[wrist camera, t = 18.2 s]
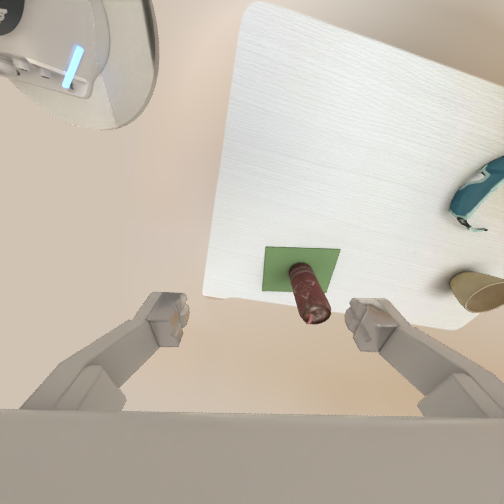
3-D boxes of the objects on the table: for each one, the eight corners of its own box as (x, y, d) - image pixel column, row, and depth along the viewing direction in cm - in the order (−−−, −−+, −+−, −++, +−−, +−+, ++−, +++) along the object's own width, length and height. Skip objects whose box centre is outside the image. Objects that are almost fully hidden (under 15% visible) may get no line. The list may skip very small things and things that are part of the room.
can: (284, 278, 47) (295, 324, 35) (293, 259, 44) (308, 302, 32) (305, 283, 48) (323, 328, 36) (315, 264, 45) (338, 307, 33)
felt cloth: (262, 290, 50) (262, 291, 50) (266, 246, 43) (266, 247, 42) (325, 291, 50) (326, 292, 50) (340, 249, 43) (340, 249, 43)
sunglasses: (511, 136, 31) (554, 137, 27) (536, 178, 36) (575, 184, 32) (435, 206, 37) (460, 216, 33) (466, 233, 43) (491, 244, 39)
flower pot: (485, 258, 44) (522, 276, 38) (479, 285, 49) (512, 305, 43) (439, 272, 47) (468, 291, 40) (438, 297, 51) (464, 318, 45)
